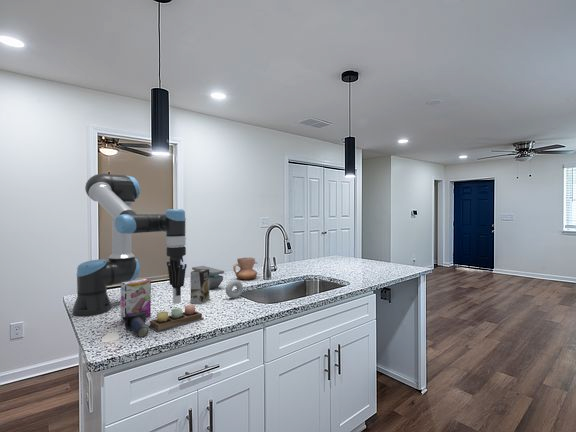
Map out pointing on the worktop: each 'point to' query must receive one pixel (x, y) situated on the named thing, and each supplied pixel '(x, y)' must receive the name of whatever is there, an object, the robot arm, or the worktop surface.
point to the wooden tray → (175, 321)
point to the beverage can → (137, 323)
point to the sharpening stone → (212, 276)
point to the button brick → (189, 309)
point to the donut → (238, 290)
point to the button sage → (176, 312)
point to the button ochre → (162, 316)
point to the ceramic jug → (245, 268)
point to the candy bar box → (135, 297)
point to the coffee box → (199, 286)
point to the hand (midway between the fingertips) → (177, 302)
